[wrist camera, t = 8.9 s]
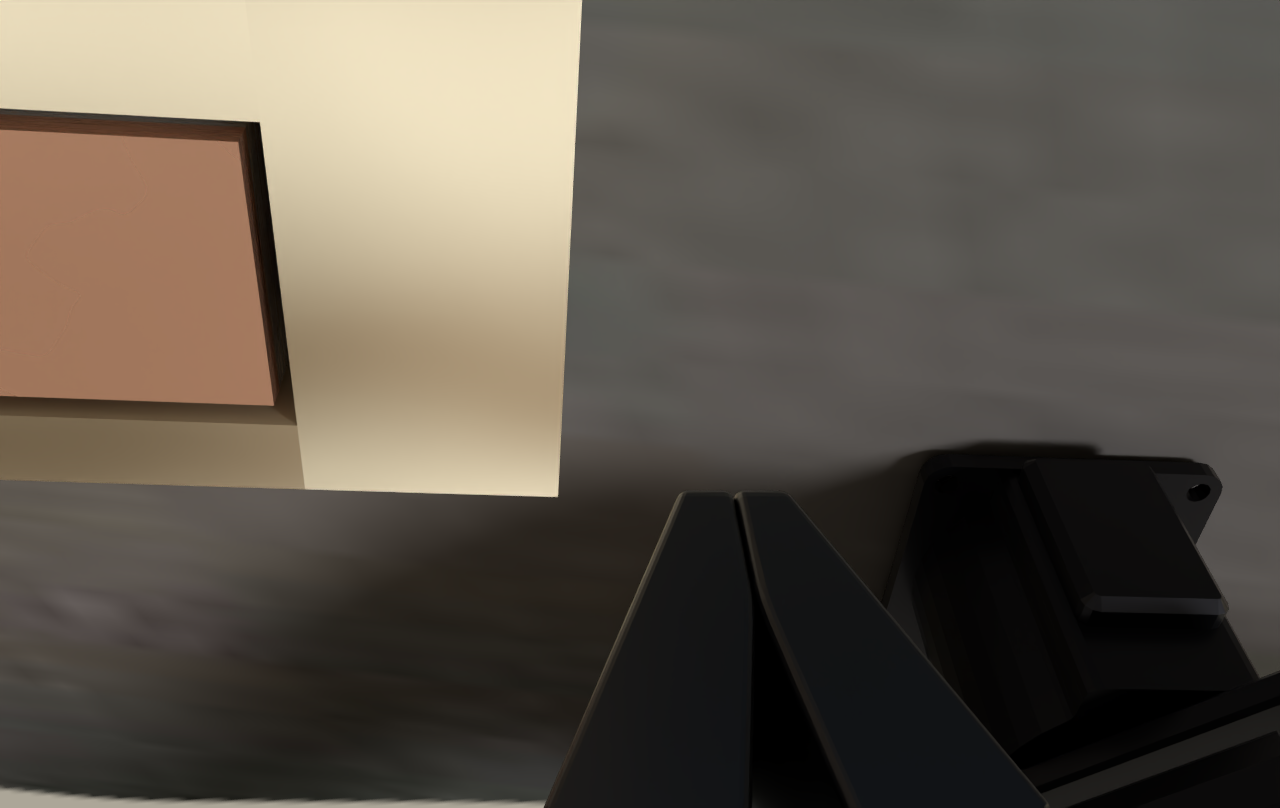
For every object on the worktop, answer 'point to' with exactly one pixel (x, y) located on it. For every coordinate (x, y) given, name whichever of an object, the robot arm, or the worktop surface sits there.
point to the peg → (137, 260)
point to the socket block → (345, 235)
